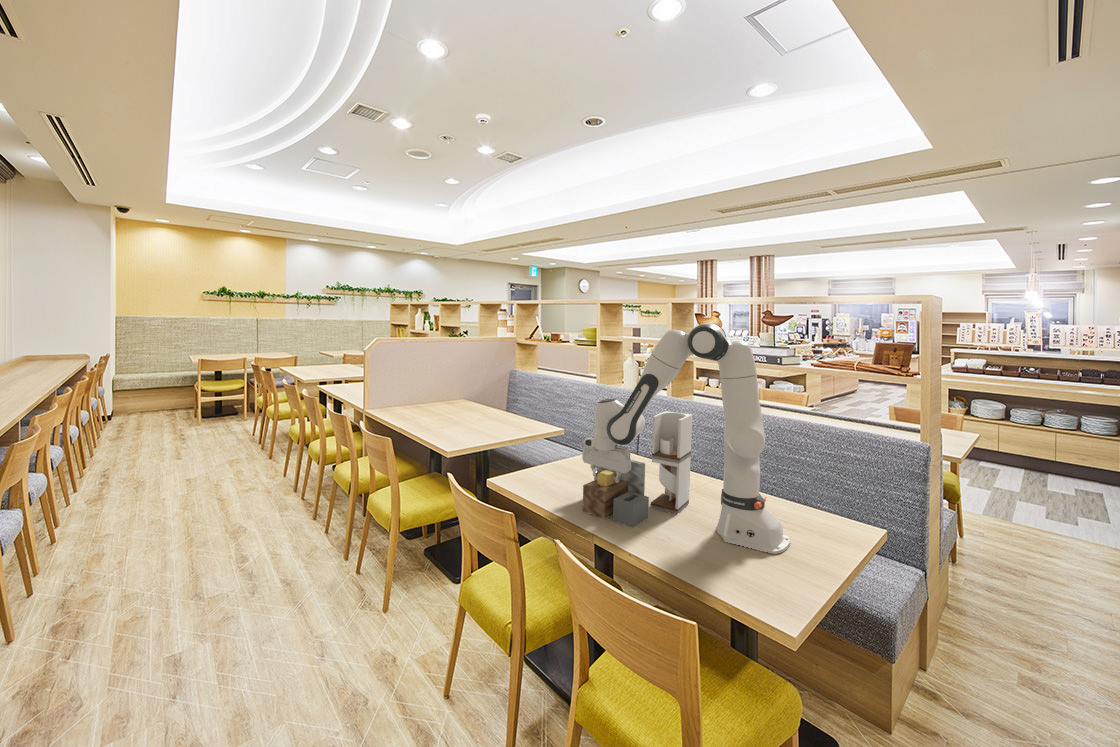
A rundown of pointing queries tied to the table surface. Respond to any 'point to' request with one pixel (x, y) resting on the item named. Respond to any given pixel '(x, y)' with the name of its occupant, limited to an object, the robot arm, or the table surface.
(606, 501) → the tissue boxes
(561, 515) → the table surface
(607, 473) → the yellow tabbed block
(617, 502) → the dark gray slotted block
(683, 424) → the display case
